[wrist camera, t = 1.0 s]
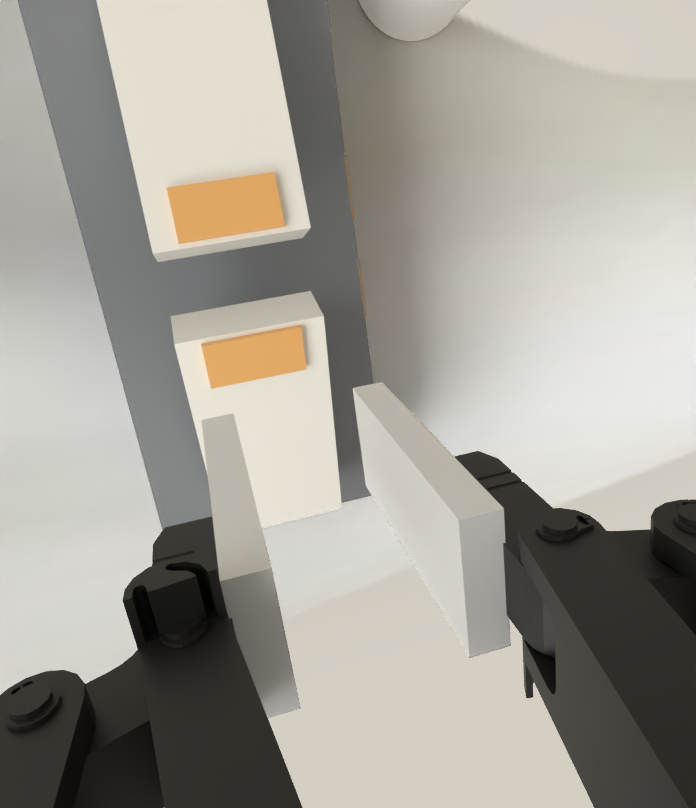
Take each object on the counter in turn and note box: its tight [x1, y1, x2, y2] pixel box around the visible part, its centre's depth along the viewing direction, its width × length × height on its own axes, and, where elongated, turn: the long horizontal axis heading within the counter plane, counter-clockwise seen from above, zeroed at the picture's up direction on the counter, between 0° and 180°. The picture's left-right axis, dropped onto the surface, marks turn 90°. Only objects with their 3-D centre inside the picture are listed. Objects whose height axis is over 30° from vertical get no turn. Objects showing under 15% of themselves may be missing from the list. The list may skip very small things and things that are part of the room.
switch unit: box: [18, 0, 373, 530], centre depth 33 cm, size 12×27×7 cm, turn 7°
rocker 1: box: [96, 0, 311, 262], centre depth 25 cm, size 6×11×3 cm, turn 7°
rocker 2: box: [171, 291, 342, 528], centre depth 30 cm, size 6×11×3 cm, turn 7°
